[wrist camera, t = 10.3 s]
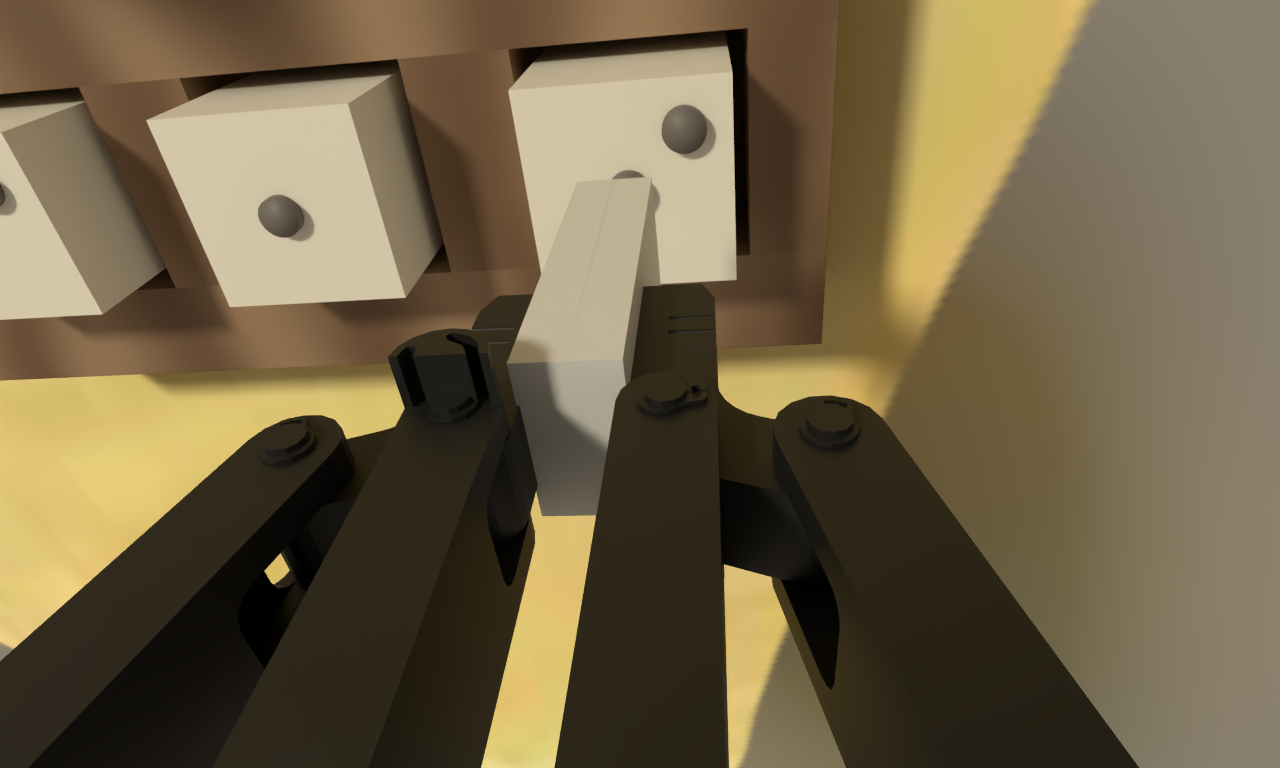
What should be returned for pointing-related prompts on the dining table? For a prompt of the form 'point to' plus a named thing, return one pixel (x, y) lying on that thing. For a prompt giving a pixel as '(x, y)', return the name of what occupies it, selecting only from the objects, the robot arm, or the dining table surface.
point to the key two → (64, 212)
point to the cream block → (305, 184)
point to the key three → (636, 140)
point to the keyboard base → (452, 154)
